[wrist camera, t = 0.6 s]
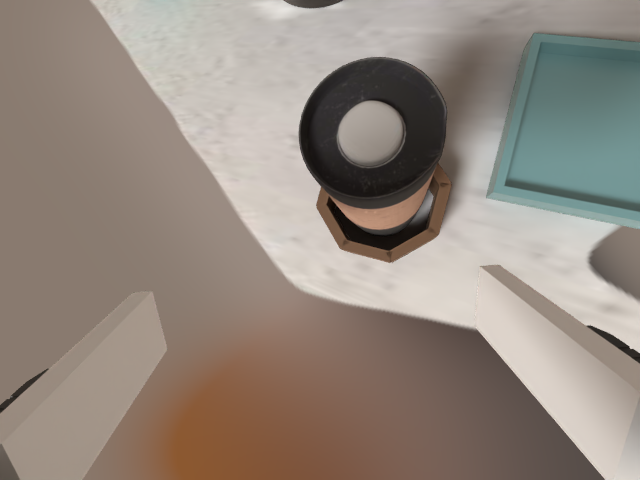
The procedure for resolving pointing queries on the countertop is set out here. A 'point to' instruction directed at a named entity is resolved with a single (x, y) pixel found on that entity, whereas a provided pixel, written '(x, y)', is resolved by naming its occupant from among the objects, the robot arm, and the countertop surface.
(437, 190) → the walnut collar
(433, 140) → the travel mug
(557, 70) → the slate tray
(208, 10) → the countertop surface
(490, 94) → the countertop surface
